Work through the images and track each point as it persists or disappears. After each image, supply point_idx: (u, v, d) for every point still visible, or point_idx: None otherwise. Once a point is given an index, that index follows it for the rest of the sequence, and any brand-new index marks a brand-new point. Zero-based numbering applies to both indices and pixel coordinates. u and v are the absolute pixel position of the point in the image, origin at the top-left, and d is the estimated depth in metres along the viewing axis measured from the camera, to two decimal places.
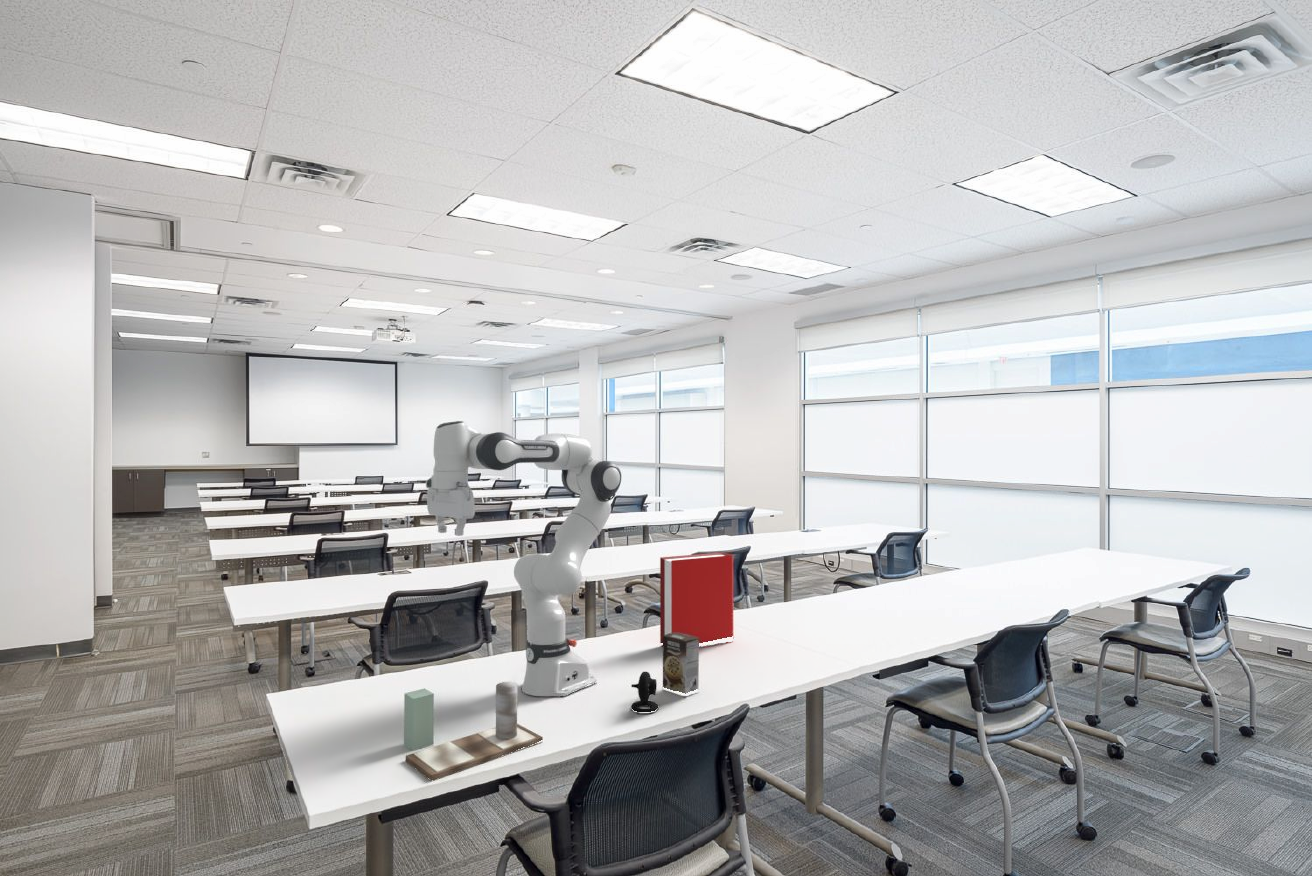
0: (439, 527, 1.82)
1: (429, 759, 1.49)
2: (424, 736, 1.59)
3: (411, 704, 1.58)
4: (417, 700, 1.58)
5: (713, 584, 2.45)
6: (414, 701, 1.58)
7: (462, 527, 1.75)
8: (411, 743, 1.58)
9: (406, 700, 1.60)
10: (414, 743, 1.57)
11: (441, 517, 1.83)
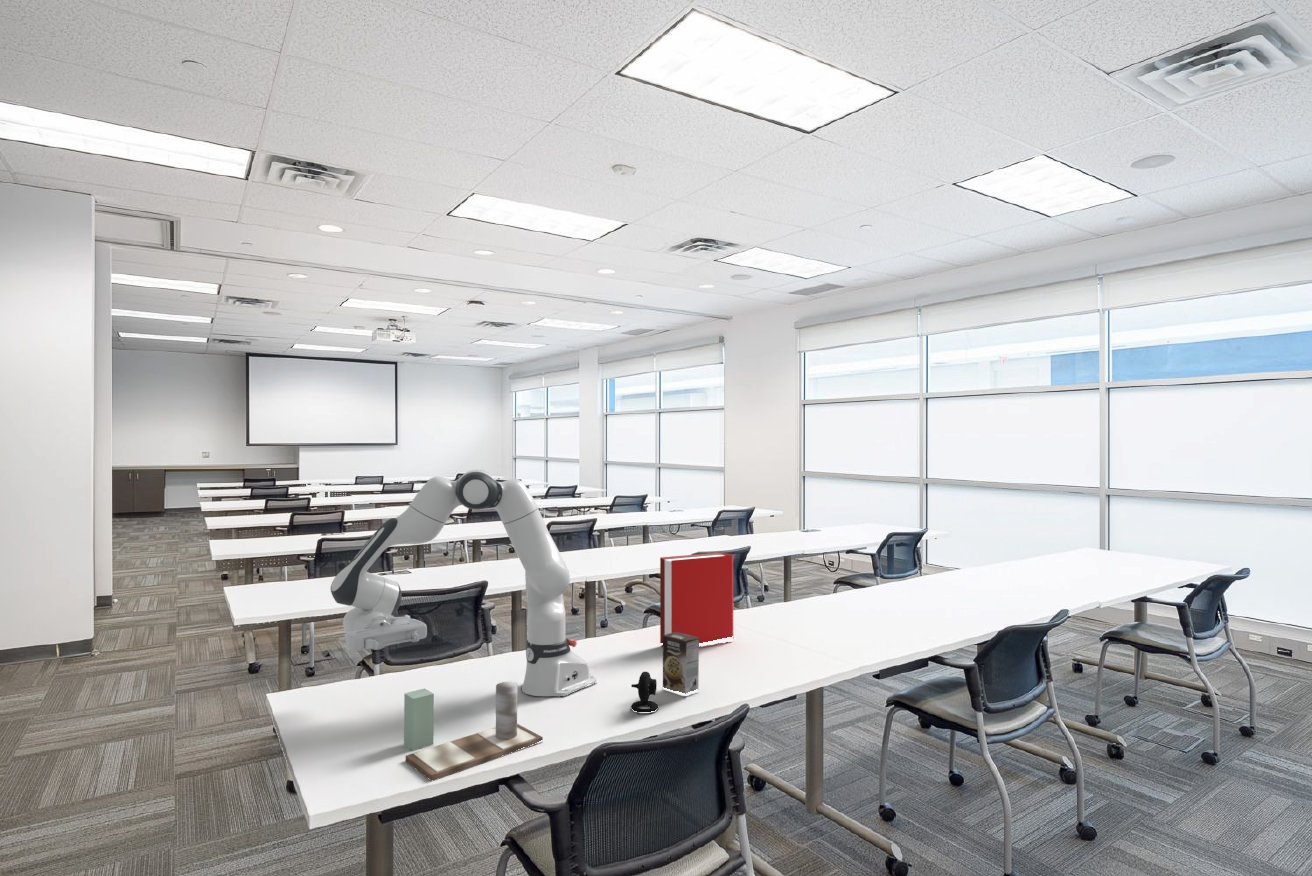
0: None
1: (429, 759, 1.49)
2: (424, 736, 1.59)
3: (411, 704, 1.58)
4: (417, 700, 1.58)
5: (713, 584, 2.45)
6: (414, 701, 1.58)
7: (372, 642, 1.68)
8: (411, 743, 1.58)
9: (406, 700, 1.60)
10: (414, 743, 1.57)
11: (411, 635, 1.76)
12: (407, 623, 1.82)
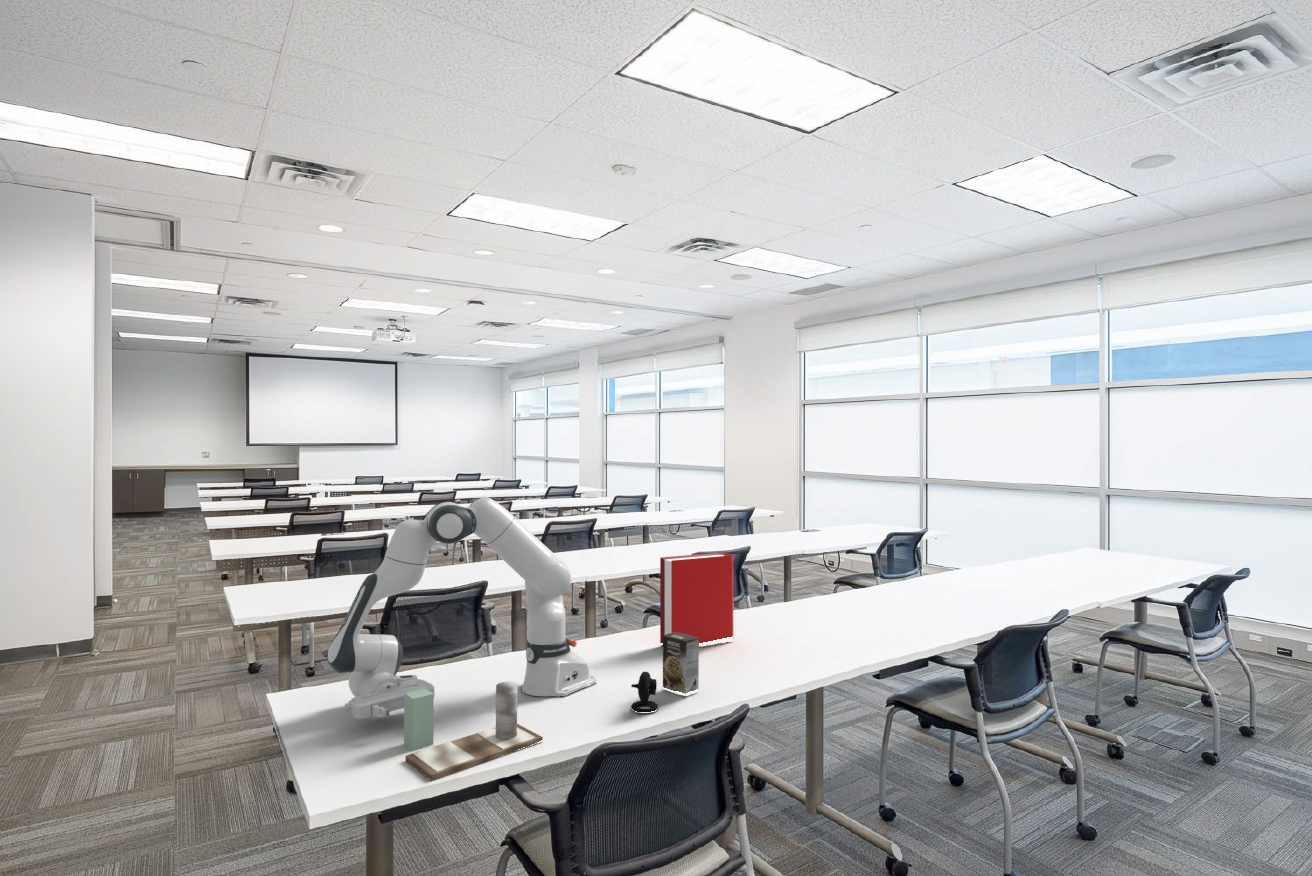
0: None
1: (429, 759, 1.49)
2: (424, 736, 1.59)
3: (411, 704, 1.58)
4: (417, 700, 1.58)
5: (713, 584, 2.45)
6: (414, 701, 1.58)
7: (378, 710, 1.64)
8: (411, 743, 1.58)
9: (406, 700, 1.60)
10: (414, 743, 1.57)
11: None
12: (414, 684, 1.78)
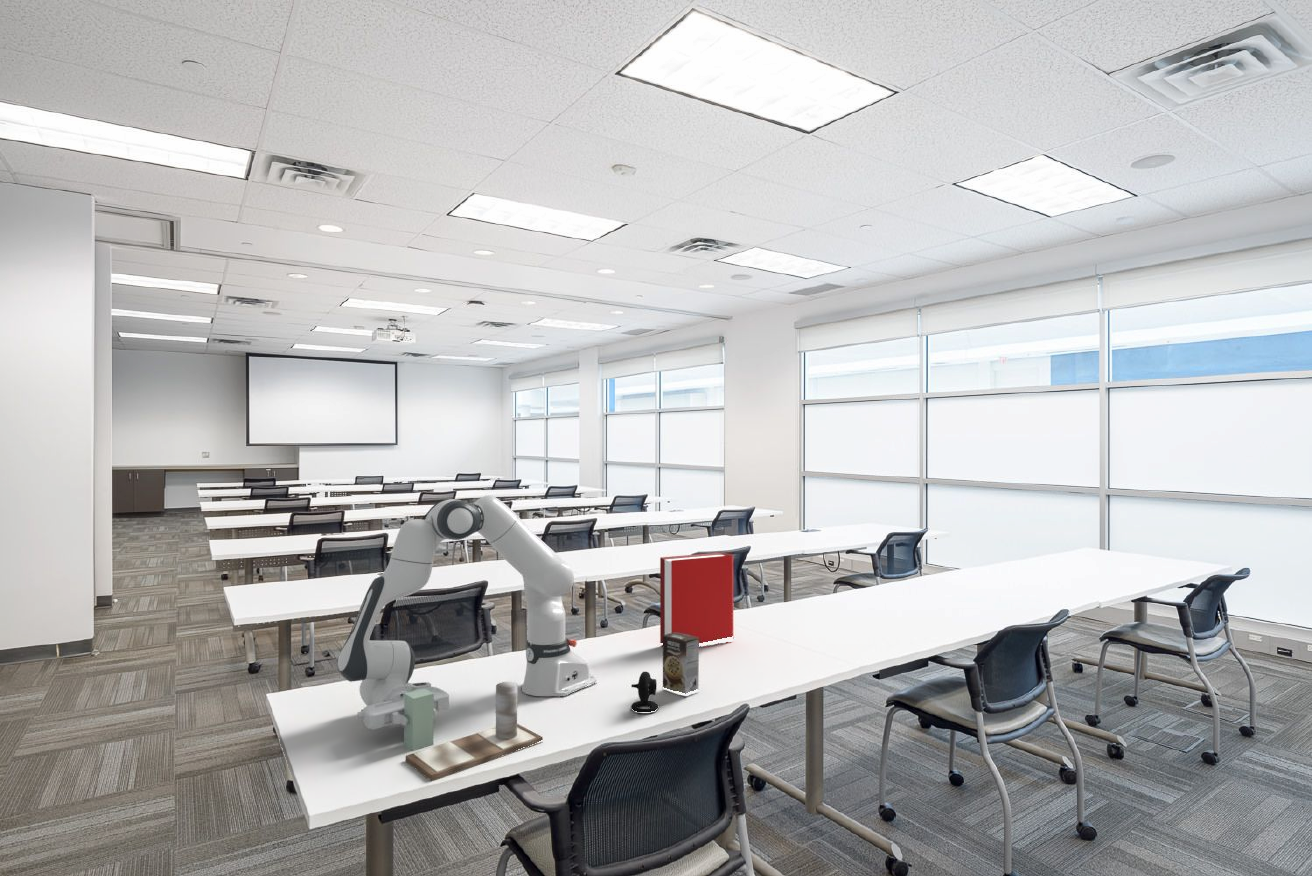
0: None
1: (429, 759, 1.49)
2: (424, 735, 1.59)
3: (411, 703, 1.58)
4: (417, 700, 1.58)
5: (713, 584, 2.45)
6: (414, 701, 1.58)
7: (399, 718, 1.59)
8: (411, 743, 1.58)
9: (406, 700, 1.60)
10: (414, 743, 1.57)
11: None
12: None
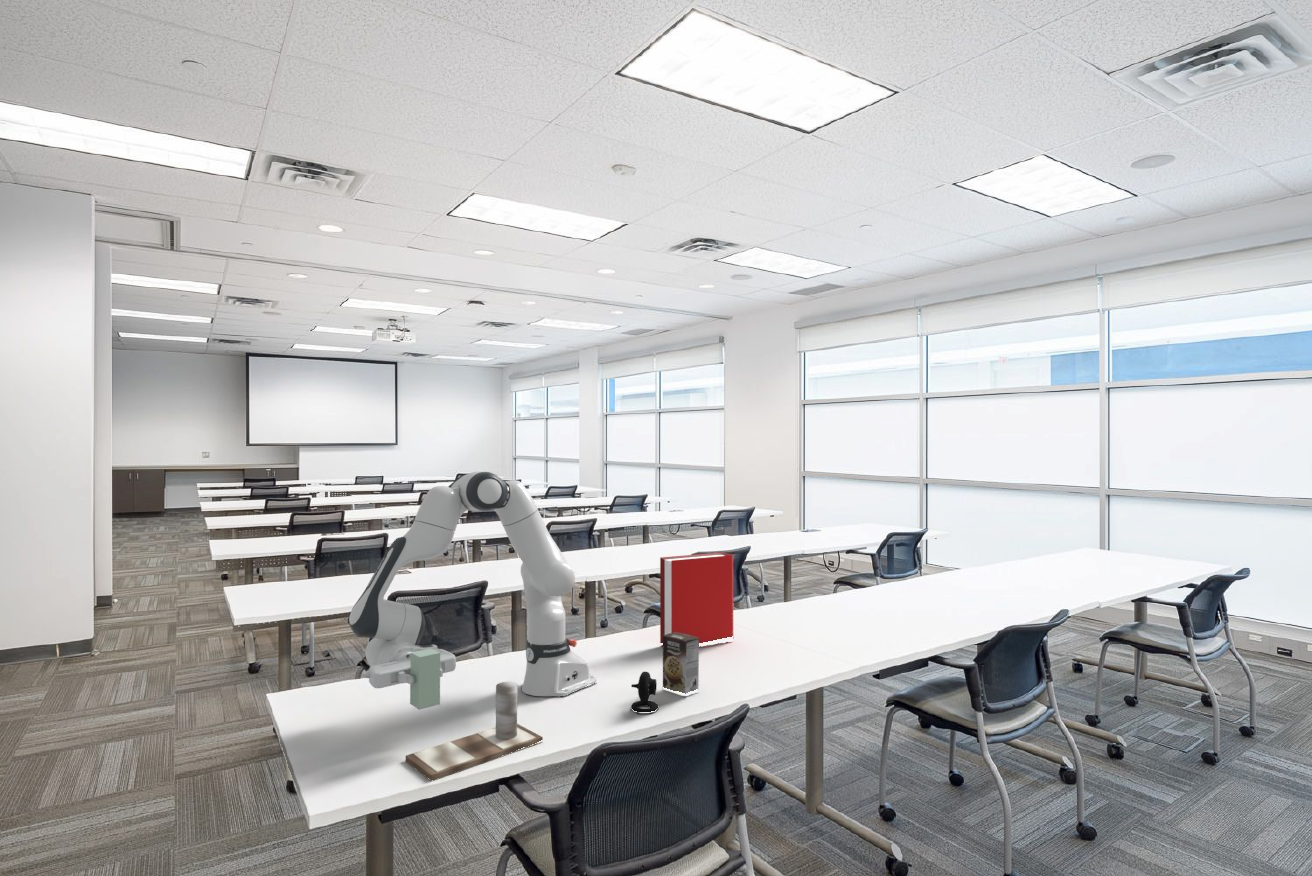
0: None
1: (429, 759, 1.49)
2: (431, 695, 1.57)
3: (417, 662, 1.56)
4: (424, 658, 1.56)
5: (713, 584, 2.45)
6: (420, 659, 1.55)
7: (405, 677, 1.57)
8: (417, 702, 1.56)
9: (413, 659, 1.58)
10: (421, 702, 1.55)
11: None
12: None
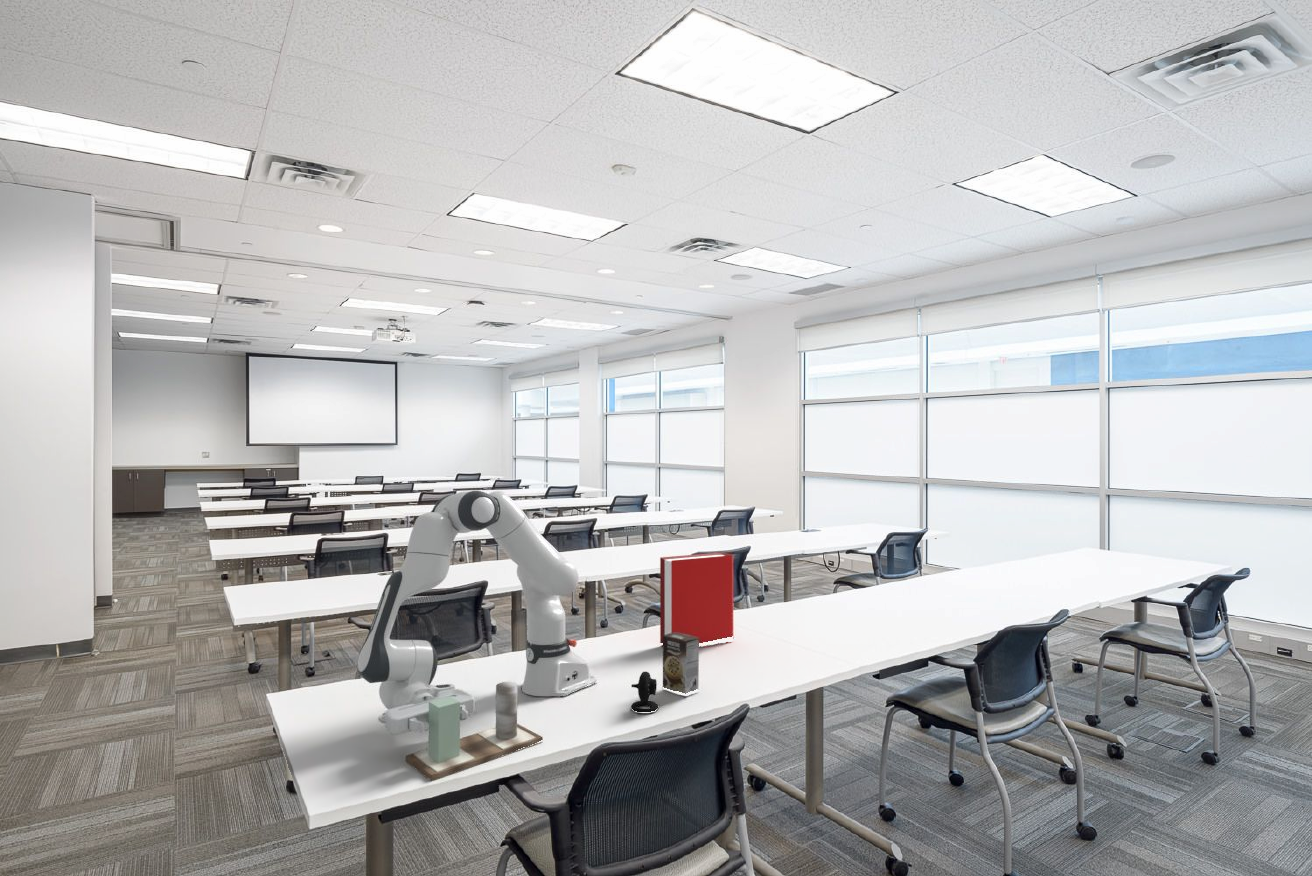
0: None
1: (429, 759, 1.49)
2: (450, 747, 1.50)
3: (436, 713, 1.49)
4: (443, 709, 1.49)
5: (713, 584, 2.45)
6: (440, 710, 1.48)
7: (416, 724, 1.48)
8: (436, 755, 1.49)
9: (431, 708, 1.51)
10: (440, 755, 1.48)
11: None
12: (452, 695, 1.63)
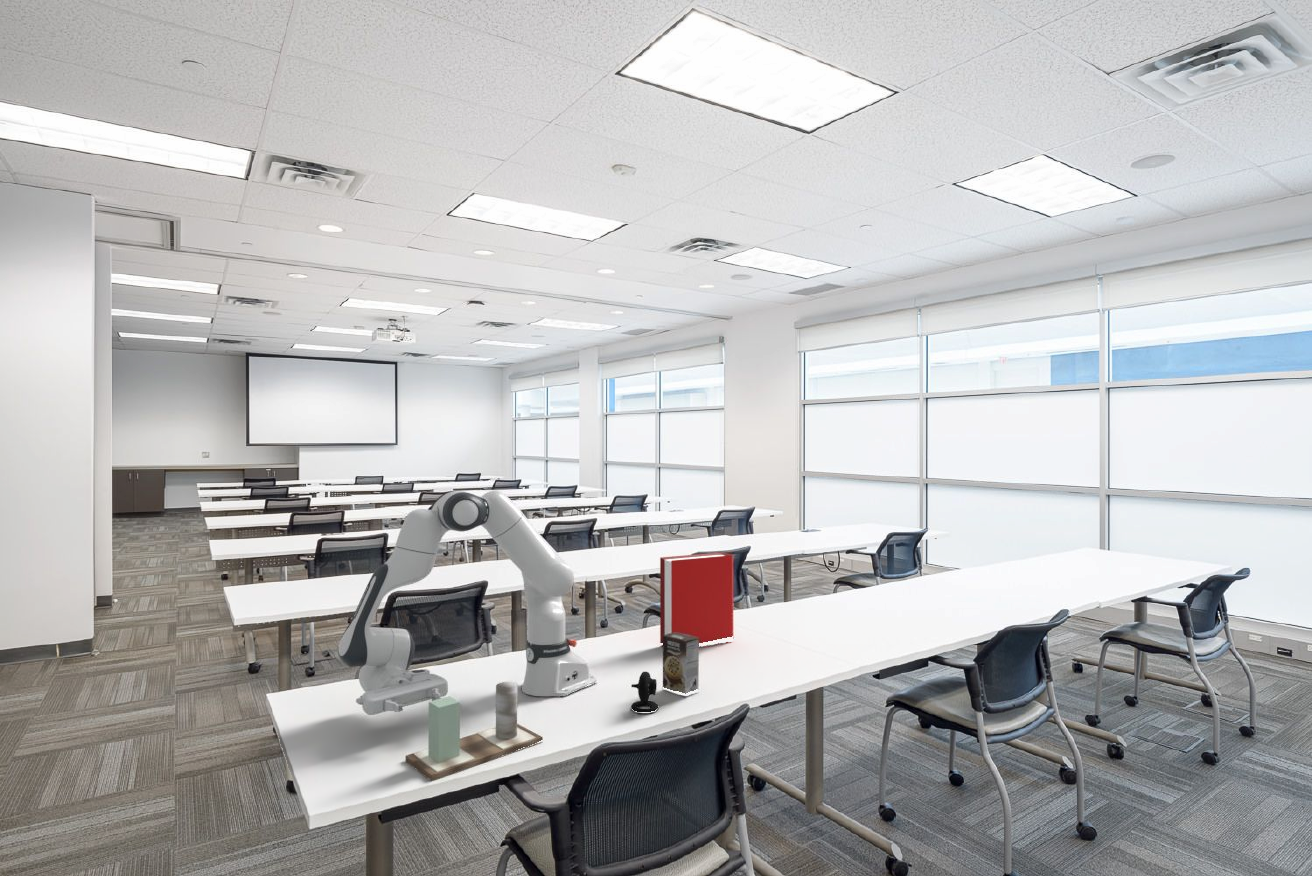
0: None
1: (429, 759, 1.49)
2: (450, 747, 1.50)
3: (436, 713, 1.49)
4: (443, 709, 1.49)
5: (713, 584, 2.45)
6: (440, 710, 1.48)
7: (391, 705, 1.59)
8: (436, 755, 1.49)
9: (431, 708, 1.51)
10: (440, 755, 1.48)
11: (432, 693, 1.68)
12: (427, 679, 1.73)
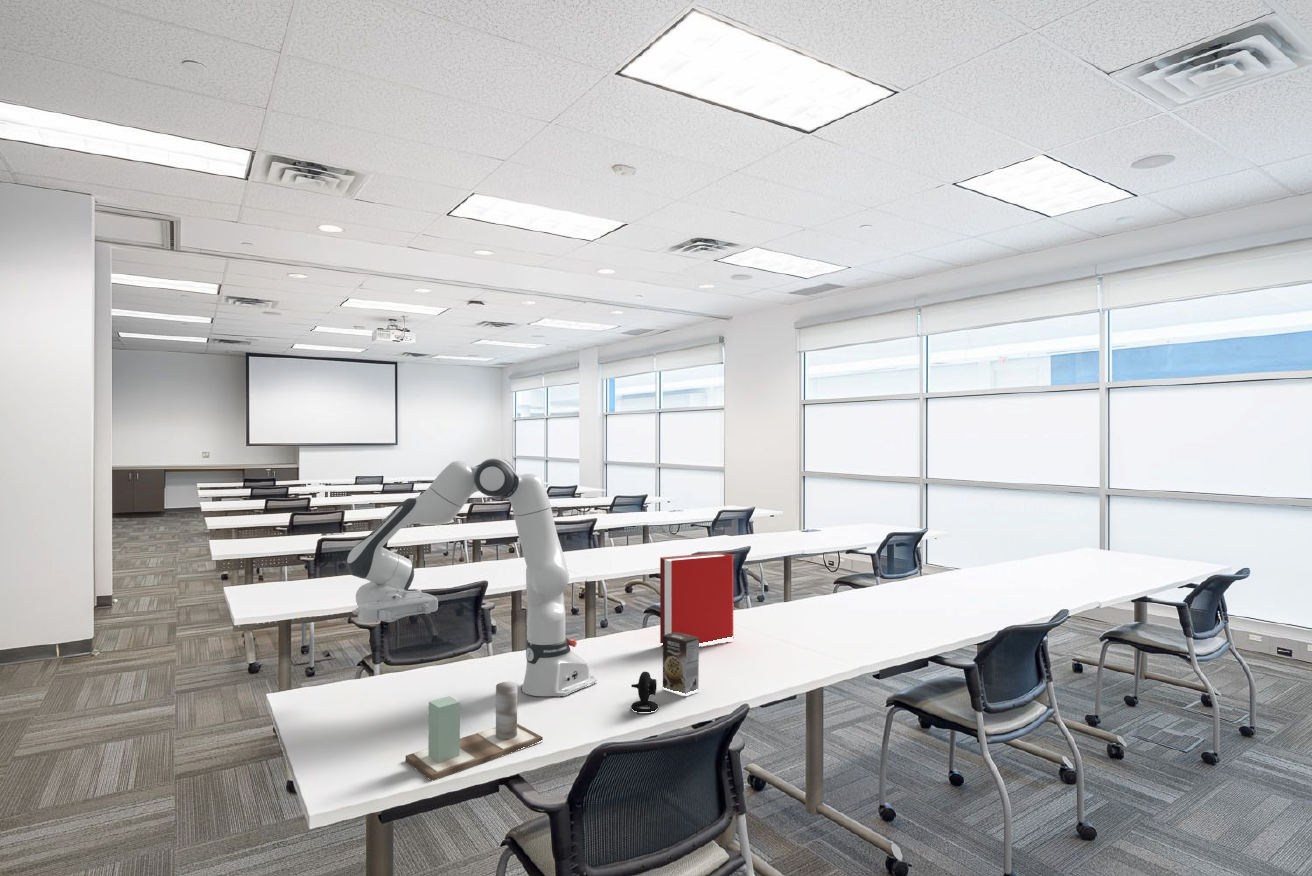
0: None
1: (429, 759, 1.49)
2: (450, 747, 1.50)
3: (436, 713, 1.49)
4: (443, 709, 1.49)
5: (713, 584, 2.45)
6: (440, 710, 1.48)
7: (385, 613, 1.72)
8: (436, 755, 1.49)
9: (431, 708, 1.51)
10: (440, 755, 1.48)
11: (422, 608, 1.81)
12: (418, 597, 1.86)
